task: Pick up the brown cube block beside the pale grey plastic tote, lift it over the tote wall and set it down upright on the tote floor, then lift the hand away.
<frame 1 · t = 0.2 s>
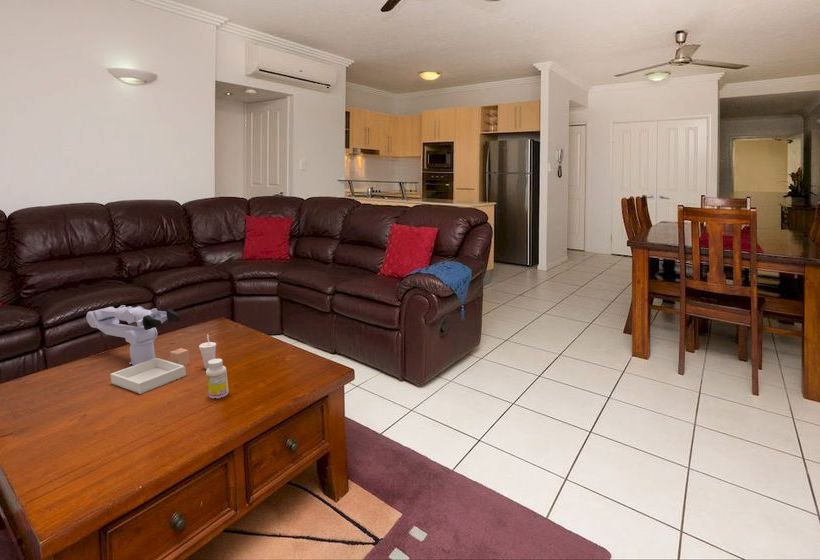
hand: (169, 321, 176), 21 cm above the table, tool horizontal, fingers open, 7 cm apart
tote: (149, 379, 174), on the table
brown cube block: (180, 364, 188), on the table
supplement bottle: (218, 395, 161), on the table
smoothie: (209, 367, 186), on the table
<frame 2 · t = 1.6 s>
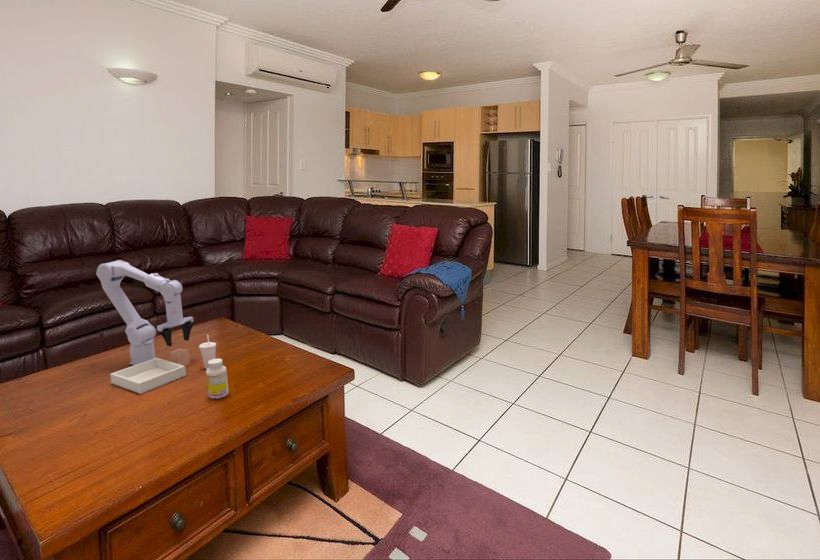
hand: (178, 343, 186), 9 cm above the table, tool pointing down, fingers open, 7 cm apart
nothing on the table moved.
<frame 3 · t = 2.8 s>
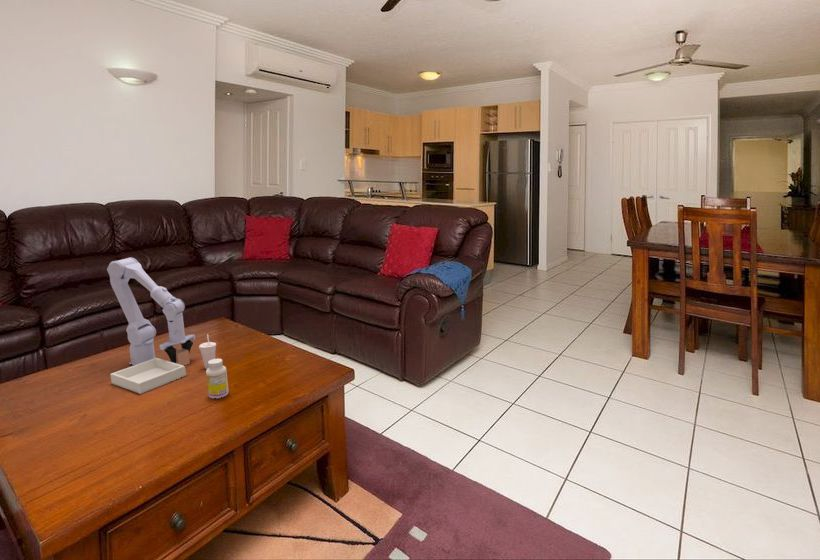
hand: (180, 360, 188), 2 cm above the table, tool pointing down, fingers closed on brown cube block, 5 cm apart
brown cube block: (180, 364, 188), on the table, touching gripper
everything else where it was.
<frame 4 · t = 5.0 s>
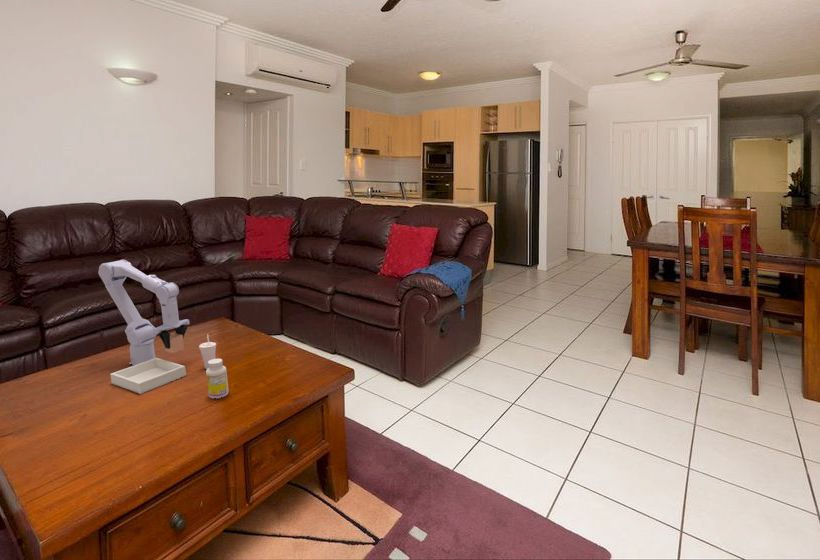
hand: (174, 345, 184), 9 cm above the table, tool pointing down, fingers closed on brown cube block, 5 cm apart
brown cube block: (174, 350, 185), point 7 cm above the table, touching gripper
everything else where it was.
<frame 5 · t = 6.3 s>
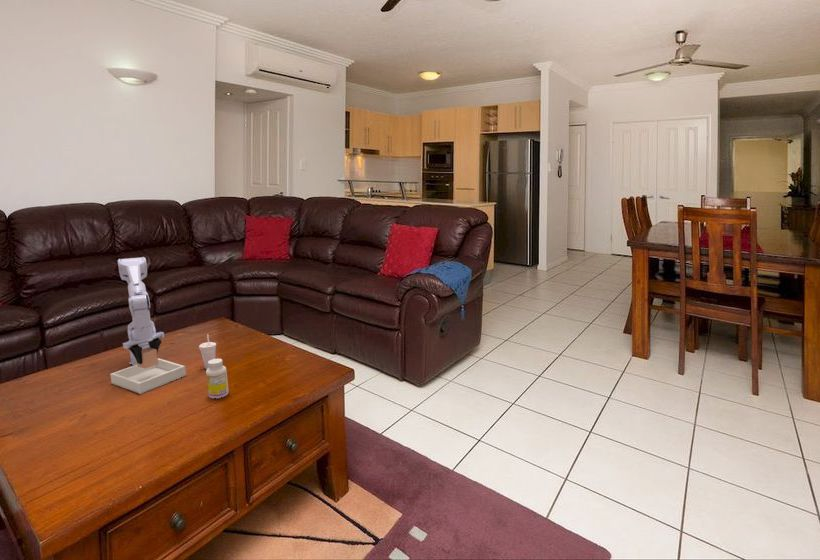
hand: (147, 360, 172), 8 cm above the table, tool pointing down, fingers closed on brown cube block, 5 cm apart
brown cube block: (147, 365, 173), point 6 cm above the table, touching gripper
everything else where it was.
when the fingers open (4 cm above the table, at t = 7.4 s): brown cube block drops 2 cm, resting on tote.
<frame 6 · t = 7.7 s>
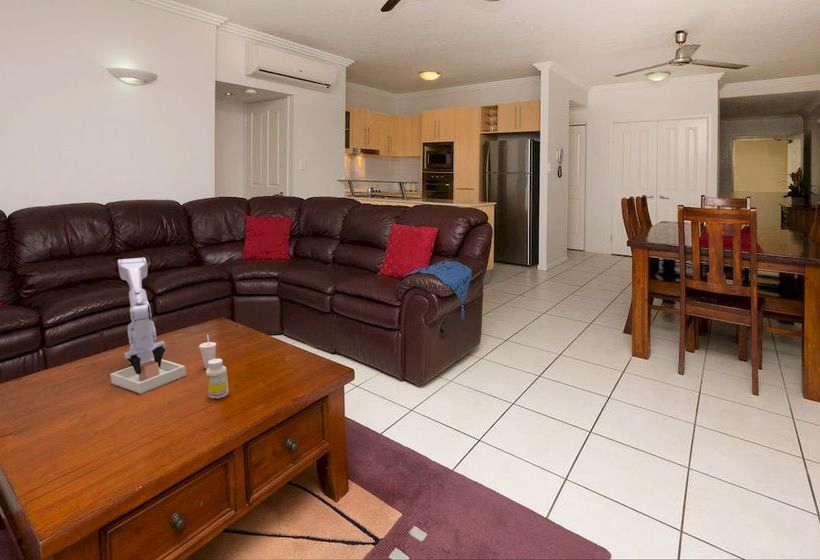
hand: (148, 370, 173), 4 cm above the table, tool pointing down, fingers open, 7 cm apart
brown cube block: (149, 378, 174), resting on tote
everything else where it was.
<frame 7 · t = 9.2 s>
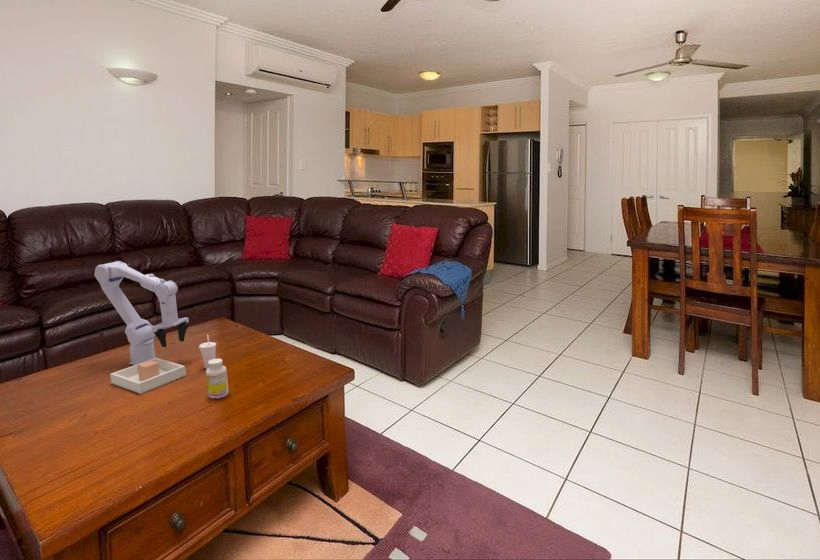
hand: (173, 343, 185), 9 cm above the table, tool pointing down, fingers open, 7 cm apart
nothing on the table moved.
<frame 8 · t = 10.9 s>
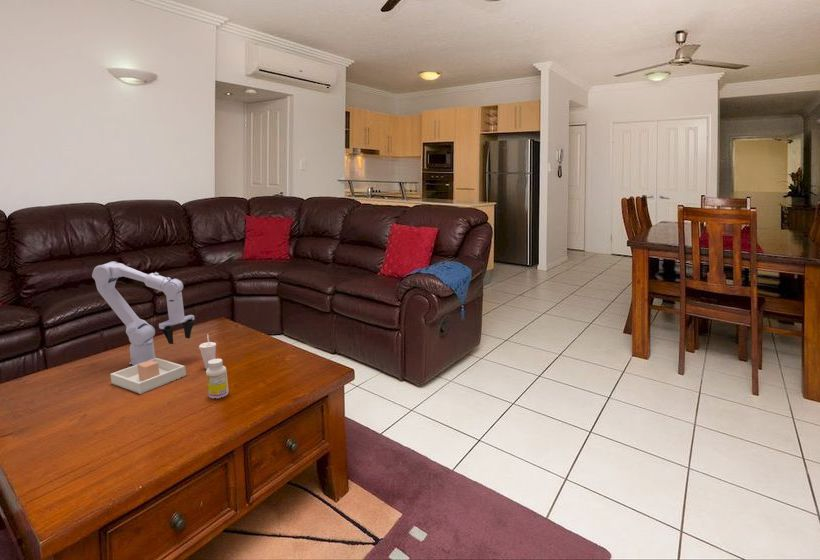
hand: (179, 340, 189), 9 cm above the table, tool pointing down, fingers open, 7 cm apart
nothing on the table moved.
at the end: brown cube block inside the target area on the tote (0.1 cm from its centre), point 0.5 cm above the tote's base; brown cube block tilted 0°; the gripper is holding nothing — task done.
